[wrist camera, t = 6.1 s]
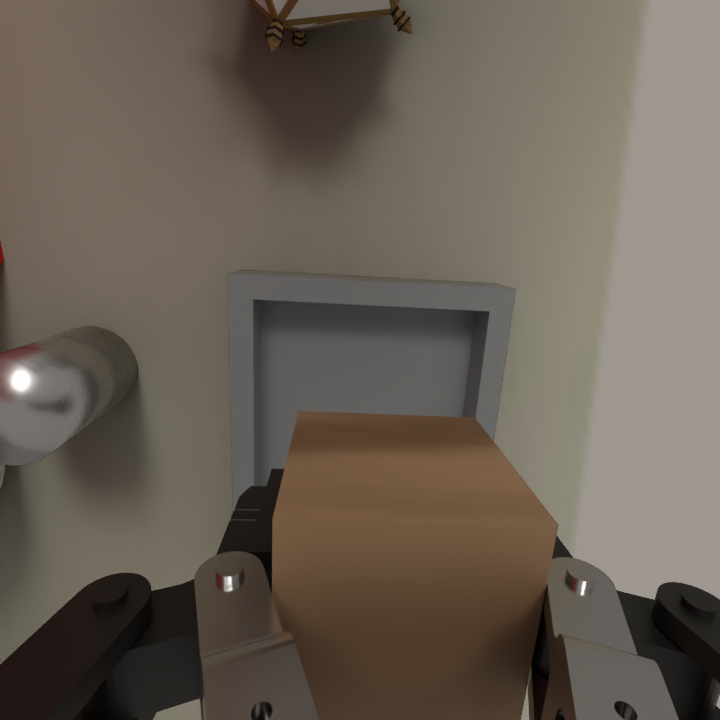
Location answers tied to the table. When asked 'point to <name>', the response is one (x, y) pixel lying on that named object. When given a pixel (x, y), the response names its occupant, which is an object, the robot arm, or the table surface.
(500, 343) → the charcoal tray
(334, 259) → the table surface
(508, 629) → the walnut cube
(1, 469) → the ramekin
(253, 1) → the game die
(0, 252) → the book
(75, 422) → the steel cylinder
